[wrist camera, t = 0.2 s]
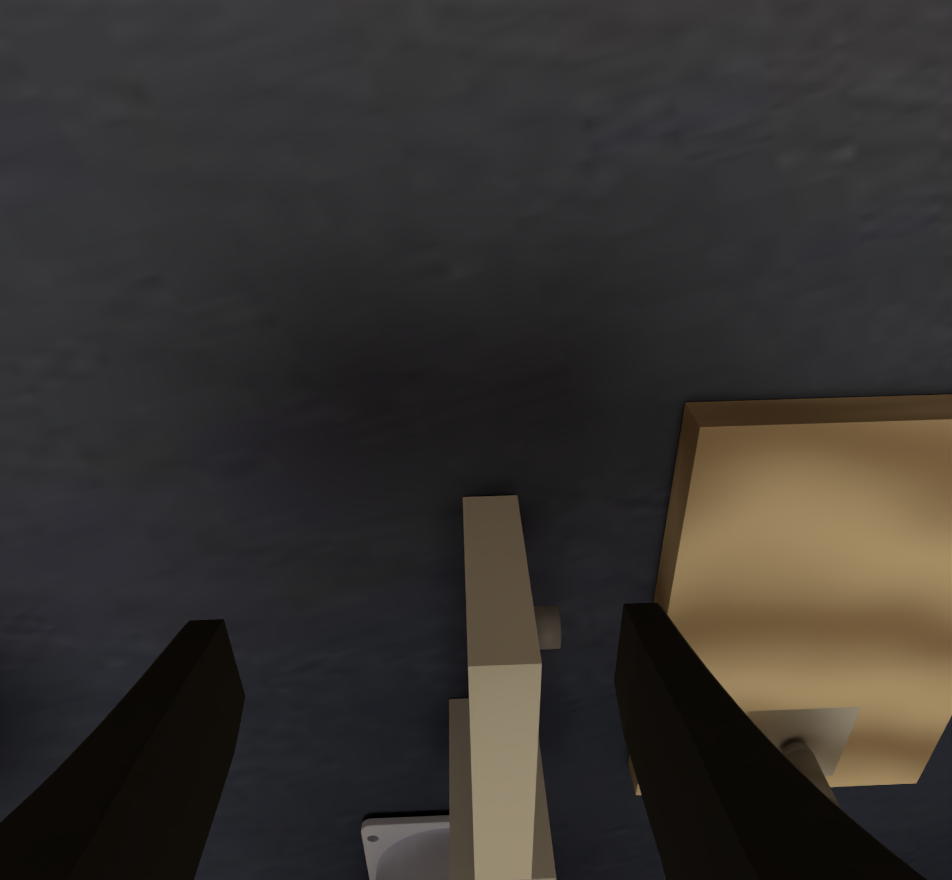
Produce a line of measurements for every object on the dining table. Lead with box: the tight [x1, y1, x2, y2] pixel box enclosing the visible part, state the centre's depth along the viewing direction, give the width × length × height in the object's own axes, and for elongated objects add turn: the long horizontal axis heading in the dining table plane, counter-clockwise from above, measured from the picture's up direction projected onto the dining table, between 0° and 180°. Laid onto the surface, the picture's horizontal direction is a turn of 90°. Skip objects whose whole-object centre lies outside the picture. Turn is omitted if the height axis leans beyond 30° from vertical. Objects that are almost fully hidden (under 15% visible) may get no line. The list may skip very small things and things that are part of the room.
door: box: [449, 495, 561, 880], centre depth 24 cm, size 13×3×7 cm, turn 1°
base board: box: [628, 394, 952, 807], centre depth 24 cm, size 18×12×5 cm, turn 1°
